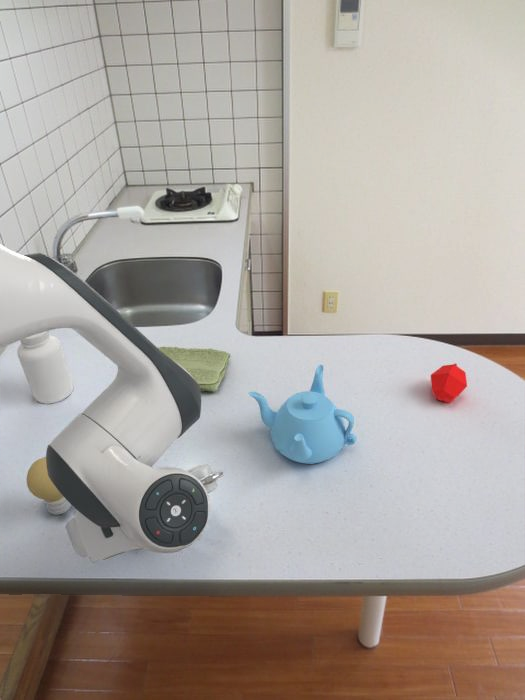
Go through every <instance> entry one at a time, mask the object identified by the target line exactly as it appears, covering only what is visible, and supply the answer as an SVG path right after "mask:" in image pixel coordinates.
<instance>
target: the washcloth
mask: <svg viewBox="0 0 525 700" xmlns="http://www.w3.org/2000/svg"><path fill="white" fill-rule="evenodd" d="M157 348H158V349H159V350H161V351H162V352H163V353H164V354H165V355H167V356H168V357H169V358H170V359H172V360H173V361H175V362H176V363H178V364H179V365H180V366H182V367H183V368H184V369H185V370H187V371H188V372H189V373H190V374H191V376H192V377H193V378H194V379H195V381H196V382H197V383H198V385H199V386H200V390H201V392H213V393H214V392H218V389H219V385H220V383H221V382H222V380H223V378H224V376H225V374H226V371H227V366H228V363H229V361H230V359H231V356H232V355H231V353H229V352H227V351H225V350H219V349H214V348H192V347H191V348H190V347H189V348H188V347H187V348H185V347H178V346H159V347H157Z"/></svg>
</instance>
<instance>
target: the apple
mask: <svg viewBox="0 0 525 700" xmlns="http://www.w3.org/2000/svg"><path fill="white" fill-rule="evenodd" d="M430 384H431V392H432V394H433V396H434V398H435V400H438V401H441V402H444V403H447V404H451V403H452V402H453V401H455V400H456V399H457V398H458V397H459V396H460V395H461V394H462V393H463V392H464V390H465V389H466V388H467V387H468V381H467V374H466V371H464V370H463V369H462V368H461V367H460V366H458V364H457V363H453V364H445V365H441V367H439V368H438V369H436V370H435V371H434V372H432V373H431V374H430Z"/></svg>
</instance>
